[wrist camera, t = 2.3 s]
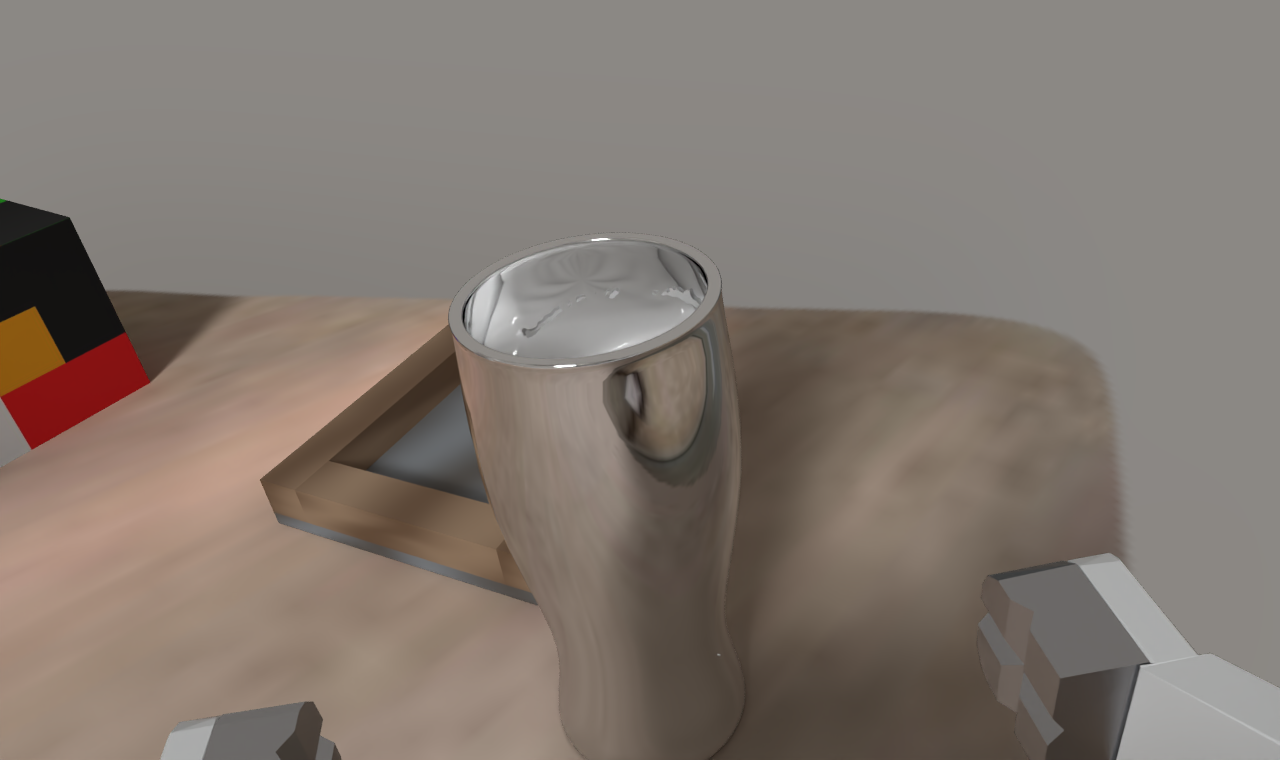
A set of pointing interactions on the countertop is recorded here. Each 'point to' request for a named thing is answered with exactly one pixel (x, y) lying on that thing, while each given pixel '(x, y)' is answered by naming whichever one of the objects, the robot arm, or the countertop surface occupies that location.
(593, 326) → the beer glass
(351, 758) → the countertop surface
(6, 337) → the puzzle toy
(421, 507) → the cradle jig
